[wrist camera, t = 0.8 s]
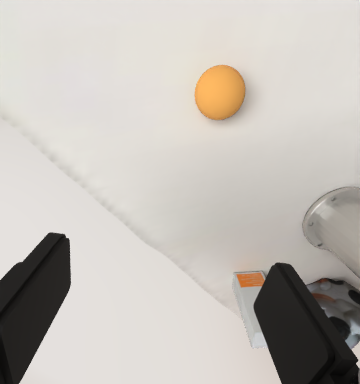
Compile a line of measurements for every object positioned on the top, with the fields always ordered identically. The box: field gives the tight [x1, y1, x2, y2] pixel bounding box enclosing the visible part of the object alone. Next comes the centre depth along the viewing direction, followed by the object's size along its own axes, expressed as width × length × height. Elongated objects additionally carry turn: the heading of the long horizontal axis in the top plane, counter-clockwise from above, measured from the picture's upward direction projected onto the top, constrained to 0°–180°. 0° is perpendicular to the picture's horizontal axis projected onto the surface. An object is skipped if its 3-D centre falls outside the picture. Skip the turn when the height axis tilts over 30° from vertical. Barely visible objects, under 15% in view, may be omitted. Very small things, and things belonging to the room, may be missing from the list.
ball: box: [195, 65, 245, 120], centre depth 25 cm, size 6×6×6 cm
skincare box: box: [233, 271, 268, 348], centre depth 38 cm, size 6×4×12 cm
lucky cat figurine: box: [306, 278, 360, 349], centre depth 41 cm, size 15×12×14 cm
